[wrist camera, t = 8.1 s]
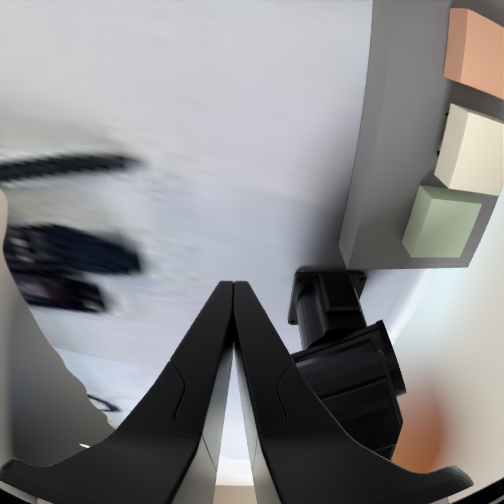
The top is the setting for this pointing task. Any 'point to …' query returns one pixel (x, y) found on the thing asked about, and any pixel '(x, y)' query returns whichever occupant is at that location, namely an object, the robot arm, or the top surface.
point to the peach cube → (475, 52)
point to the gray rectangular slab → (408, 131)
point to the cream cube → (471, 152)
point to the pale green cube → (440, 222)
